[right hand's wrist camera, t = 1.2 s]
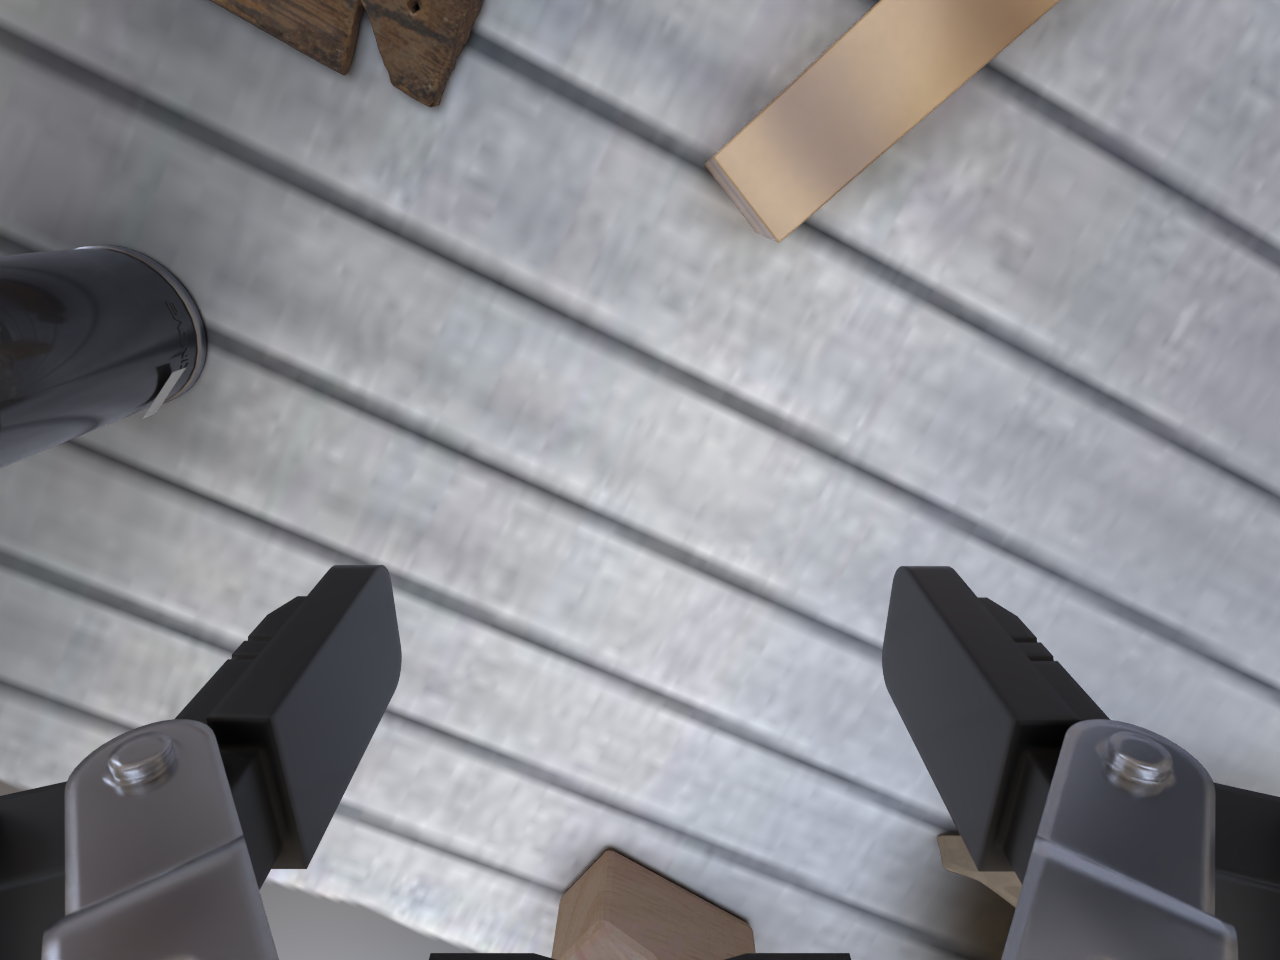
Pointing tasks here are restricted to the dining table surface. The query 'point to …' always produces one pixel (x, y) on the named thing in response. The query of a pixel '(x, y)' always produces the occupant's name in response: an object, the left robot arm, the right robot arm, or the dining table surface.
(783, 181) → the bar
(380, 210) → the dining table surface
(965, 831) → the right robot arm
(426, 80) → the dark wooden board
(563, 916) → the decorative block
